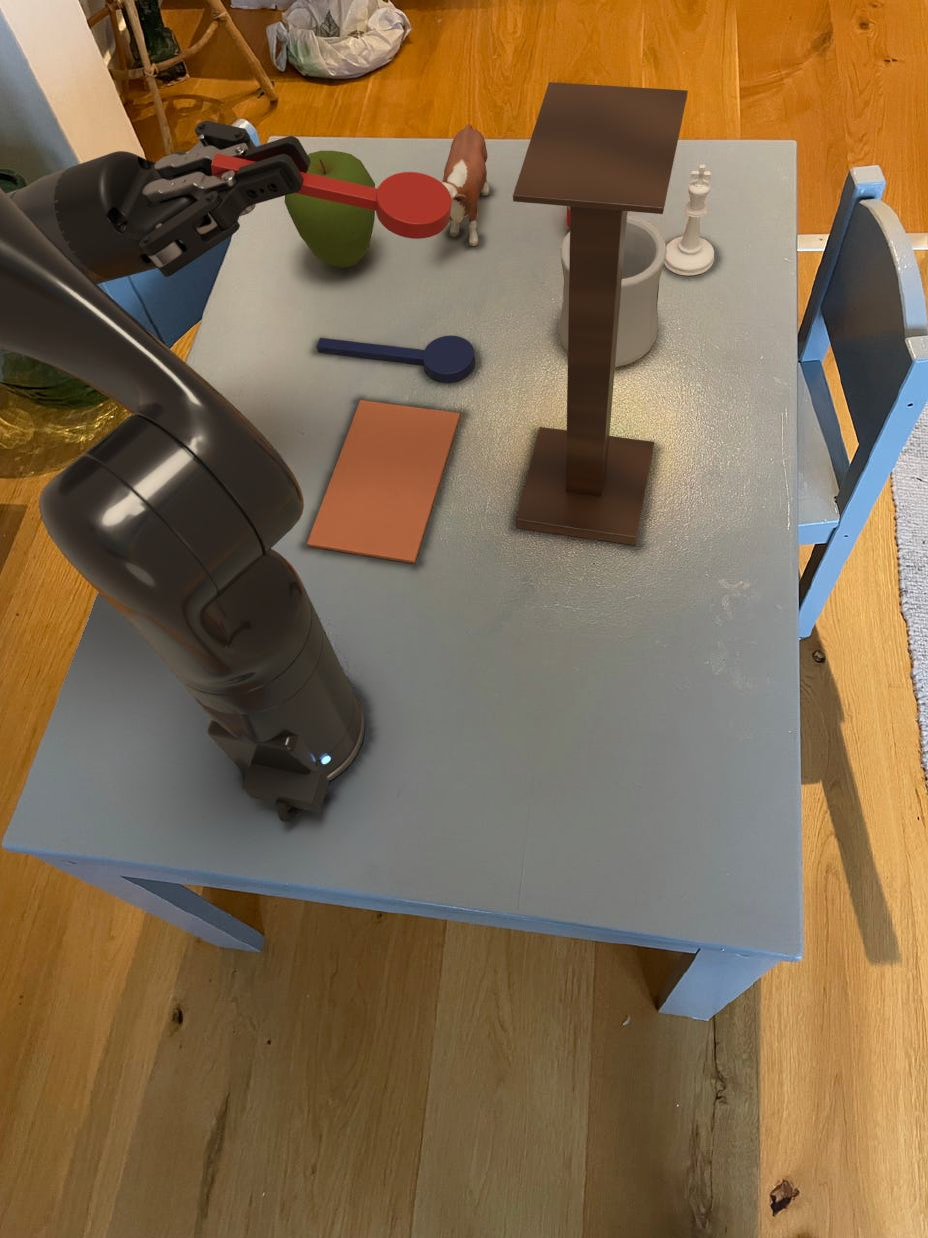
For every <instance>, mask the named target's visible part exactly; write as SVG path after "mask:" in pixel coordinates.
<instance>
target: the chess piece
mask: <svg viewBox="0 0 928 1238" xmlns="http://www.w3.org/2000/svg"><path fill="white" fill-rule="evenodd" d="M705 169H706V164H700V165H699V170H691V175H690V179H693V180H691V181H690V182H689V183H688V185H687V191H688V194H689V201H688V202H686V204H685V205H684V207H683V211H684V214H685V215H686V216H688V219H687V223H686V226H685V230H684V233H683V235H681V236H678V237H676V238H674V239H672V240H671V241H669V243H666V250H667V253H666V257H665V261H664V266H665V267H666V268H667V270H669V271H670V272H671V273H672V272H673V273H674V274H677V275H680V276H686V277H687V276H689V277H690V276H697V275H700V274H703V273H705V272H707V271H708V270H709V269H711V267H712V266H713V264H714V262H715V249H714V247H713V246H712V244H711V243H710V242H709V241H708V240H706V239H704V238H703V237H700V235H701V234H700V233H701V231H700V230H701V228H700V227H701V218H702V217H705V216H706V215H707V213H708V205H707V204H706V203H705V200H706V198H707V196H708V195H709V193H710V191H711V183H710V182H709V181H707V180H711V176H712V171H707V170H705Z"/></svg>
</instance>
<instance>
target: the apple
mask: <svg viewBox="0 0 928 1238" xmlns="http://www.w3.org/2000/svg"><path fill="white" fill-rule="evenodd" d="M307 155H308V156H309V158H310V161H311V163H310V166H309V168H308V171H307V172H306V173H309V174H314V175H318V176H323V177H327V178H332V179H337V180H341V181H346V182H350V183H355V184H359V185H364V186H368V187H373V188H376V182H375V180H373V178H372V175H370V173H369V171H368V169H367V168H366V167H365V165H364V163H363V162H362V160H361V159H359V158H357V157H356V156H354V155H353V154H352V153H348V152H344V151H338V150H317V151H314V152H310V153H309V154H308V153H307ZM284 205H285V207H286V209H287V212H288V214H289V217H290V218H291V221H292V223H293V225H294V226H295V229H296V231H297V233H298V235H299V236H300V238H301V239H302V240H303V242H304V243H305V244H306V245H307V247H308V248H309V249H310V251H311V252H312V253H313V255H314V256H315V257H316V258H317V260H320V261H322V262H324V263H326V264H329V265H331V266H333V267H335V268H337V269H338V268H339V269H344V268H349V267H354V265H356V264H357V263H359V261H360V260H361V259H362V258H363V257H364V256H365V254H366V253H367V251H368V250H369V249H370V245H371V240H372V235H373V231H374V225H375V219H376V215H375V214H376V211H374V210H370V209H365V208H361V207H356V206H351V205H347V204H342V203H338V202H333V201H329V200H324V199H319V198H315V197H310V196H306V195H301V194H297V193H292V194H288V195H285V196H284Z"/></svg>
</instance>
